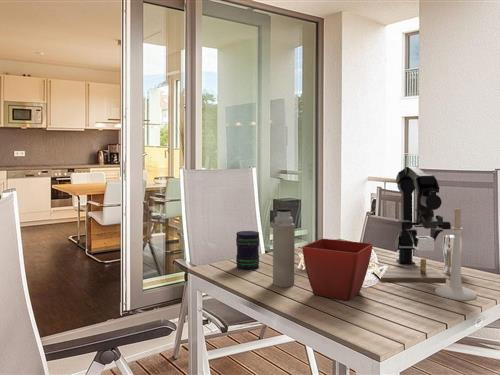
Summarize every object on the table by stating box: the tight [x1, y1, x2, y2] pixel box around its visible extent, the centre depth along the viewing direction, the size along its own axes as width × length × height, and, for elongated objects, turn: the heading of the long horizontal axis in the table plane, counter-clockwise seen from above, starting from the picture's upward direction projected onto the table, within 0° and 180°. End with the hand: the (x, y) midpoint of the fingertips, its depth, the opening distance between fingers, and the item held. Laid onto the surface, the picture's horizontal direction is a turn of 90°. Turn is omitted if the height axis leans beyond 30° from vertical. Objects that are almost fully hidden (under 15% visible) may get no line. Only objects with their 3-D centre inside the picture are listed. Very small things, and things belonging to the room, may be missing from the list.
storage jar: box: [235, 230, 260, 272], centre depth 186 cm, size 10×10×15 cm
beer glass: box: [442, 234, 463, 275], centre depth 178 cm, size 7×7×15 cm
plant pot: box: [302, 238, 373, 301], centre depth 151 cm, size 19×19×17 cm
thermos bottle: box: [272, 207, 296, 288], centre depth 162 cm, size 8×8×28 cm
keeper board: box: [380, 258, 447, 283], centre depth 172 cm, size 14×24×7 cm, turn 88°
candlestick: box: [434, 207, 477, 301], centre depth 149 cm, size 13×13×30 cm
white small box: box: [413, 235, 435, 252], centre depth 171 cm, size 6×6×4 cm
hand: (423, 246), depth 171 cm, fingers closed on white small box, 6 cm apart
